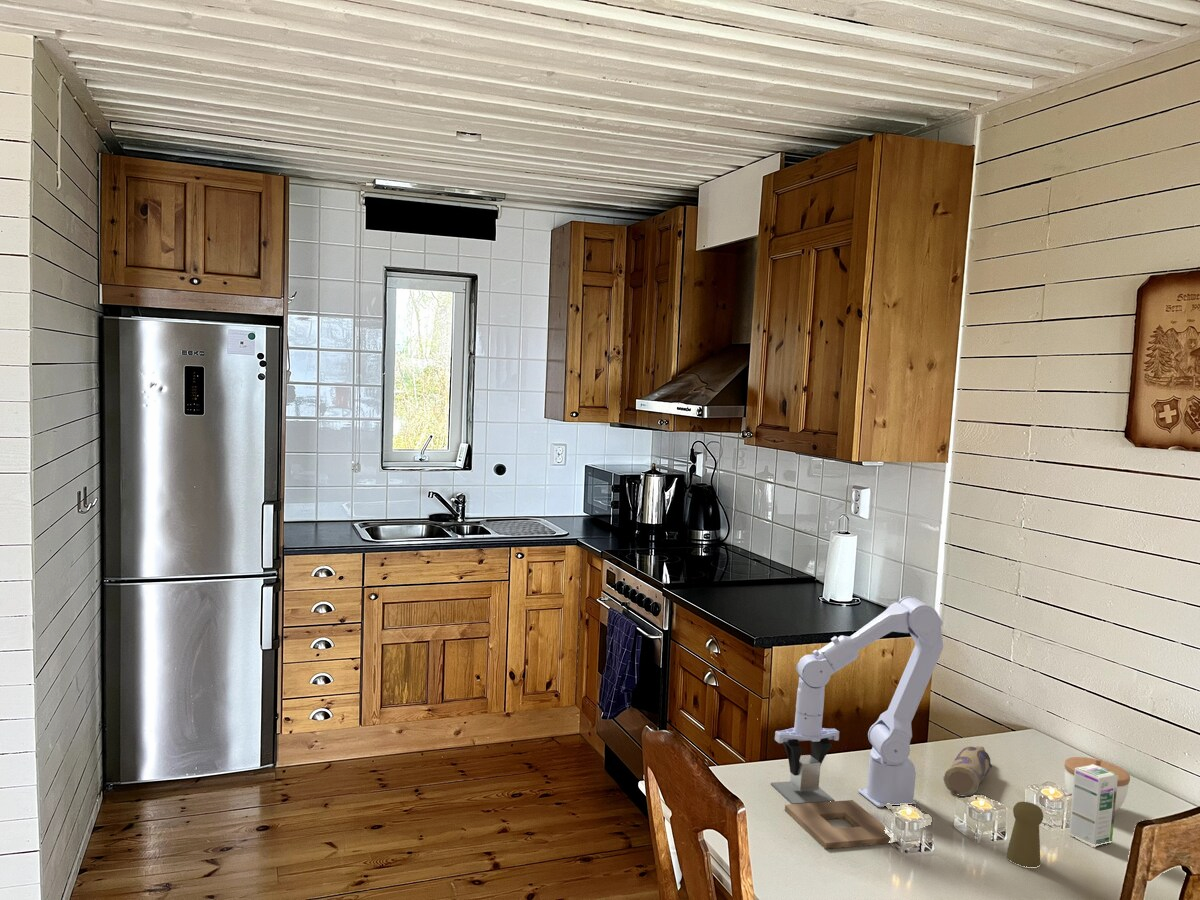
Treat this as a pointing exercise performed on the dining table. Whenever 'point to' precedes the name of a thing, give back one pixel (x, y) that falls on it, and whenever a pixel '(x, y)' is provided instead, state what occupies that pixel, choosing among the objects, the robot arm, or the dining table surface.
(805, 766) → the steel plug
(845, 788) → the dining table surface
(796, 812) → the walnut hole plate
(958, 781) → the decorative bottle
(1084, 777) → the syrup box
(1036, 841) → the olive pawn figure
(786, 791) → the gray square plate
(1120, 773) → the lidded bowl
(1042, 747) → the dining table surface
